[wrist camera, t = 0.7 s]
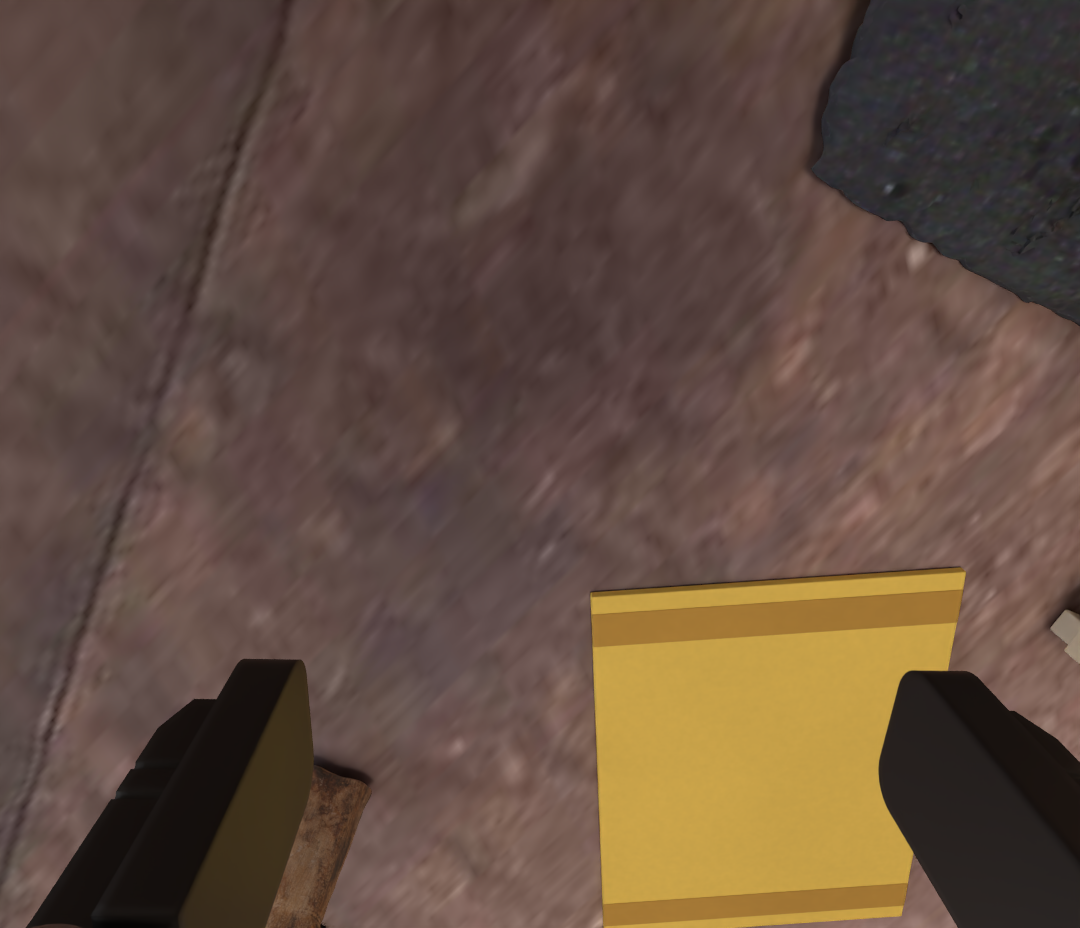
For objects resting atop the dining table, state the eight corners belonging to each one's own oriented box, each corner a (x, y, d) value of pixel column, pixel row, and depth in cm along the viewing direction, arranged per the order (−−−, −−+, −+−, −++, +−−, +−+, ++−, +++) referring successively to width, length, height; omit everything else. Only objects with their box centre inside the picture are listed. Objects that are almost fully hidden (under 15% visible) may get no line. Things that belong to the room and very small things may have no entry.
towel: (590, 591, 29) (591, 598, 29) (961, 566, 29) (967, 572, 29) (603, 929, 37) (604, 937, 36) (897, 908, 37) (902, 917, 37)
